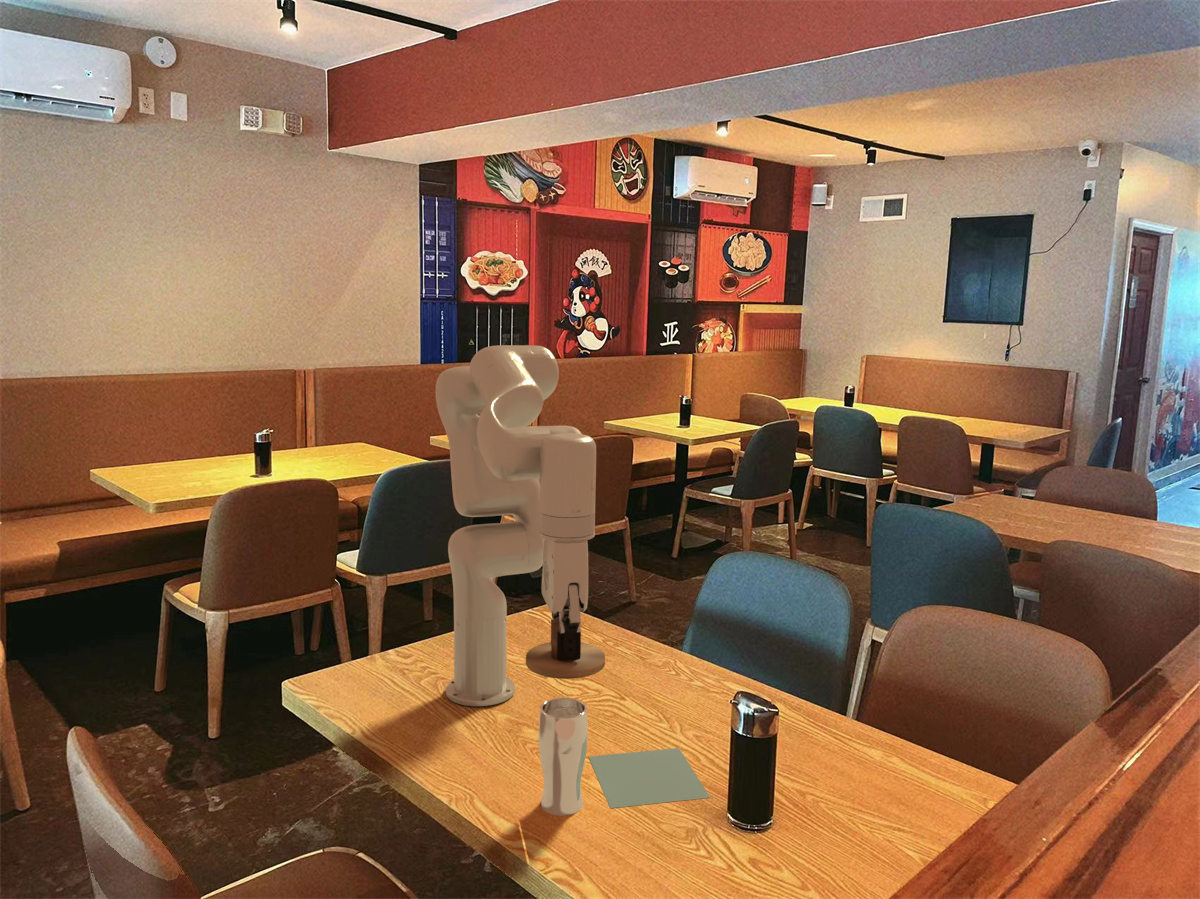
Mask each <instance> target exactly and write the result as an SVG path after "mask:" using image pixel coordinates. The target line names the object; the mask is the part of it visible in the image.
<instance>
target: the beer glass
mask: <svg viewBox="0 0 1200 899" xmlns="http://www.w3.org/2000/svg"><path fill="white" fill-rule="evenodd" d="M539 709H540V711H539V721H538V749H539V750H538V751H539V756H540V757H539V758H540V764H541V769H542V774H543V775H542V776H543V791H542V795H541V801H540V807H541V809H542V810H543V812H544V811H545V812H546V813H547V814H549V815H550V814H551V815H552V816H553V815H554V816H560V817H564V816H572V815H574V814H577V813H578V812H580V811H581V810H582V809H583V807H584V799H583V793H582V776H583V770H584V765H585V761H586V756H587V749H588V739H589V730H588V729H589V724H588V711H587V710H588V707H587V705H586V704H585V702H583V701H581V700H579V699H576V698H573V697H572V698H571V697H556V698H551V699H548V700H546V701H544V702H543V703H541V705H540V708H539Z"/></svg>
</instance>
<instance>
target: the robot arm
mask: <svg viewBox="0 0 1200 899" xmlns="http://www.w3.org/2000/svg"><path fill="white" fill-rule="evenodd" d="M559 369H560V368H559V364H558V362H557V359H556V357H555V355H554V354H553V353H552V351H550V350H549V349H548V348H546V347H545V346H542V345H529V344H525V345H523V344H522V345H521V344H520V345H516V344H515V345H514V344H513V345H512V344H511V345H507V344H505V345H504V344H502V345H501V344H500V345H491V346H490V345H489V346H487V347H483V348H481V349H480V350H478V351H477V352H476V353H475V354H474V355H473V357H472V358H471V360H470V365H462V366H456V367H451V368H447V369H445V370H443V371H442V372H440V374H439V375H438V377H437V379H436V383H435V402H436V408H437V412H438V414H439V417H440V421H441V422H442V425H443V428H444V430H445V433H446V437H447V439H448V445H449V459H450V462H449V463H450V472H451V473H450V474H451V486H452V488H451V489H452V498H453V499H452V500H453V504H454V507H455V510H456V511H457V513H458V514H460V515H461V516H463V517H469V518H481V517H484V518H485V517H496V516H507V515H511V516H513V518H514V521H511V522H510V521H508V522H500V523H499V522H495V523H482V524H481V523H480V524H472V525H467V526H464V527H461V528H459V529H456V530H455V531H454V532H453V533H452V534H451V535H450V537H449V540H448V544H447V553H448V559H449V564H450V565H449V566H450V570H451V579H452V586H453V587H452V590H453V640H454V641H453V655H454V656H453V659H454V660H453V666H454V667H453V668H454V670H453V671H454V673H453V675H454V676H453V677H454V678H453V679H451V680H450V681H449V682H448V683H447V684H446V686H445V696H446V697H447V698H448V699H449V700H450V701H451V702H453V703H455V704H458V705H461V706H467V707H489V706H493V705H498V704H501V703H503V702H506V701H508V700H509V699H510V698H512V697H513V695H514V694H515V691H516V690H515V688H516V685H515V682H513V680H512V679H510V677H507V618H508V617H507V615H508V614H507V612H508V610H507V607H508V606H507V599H506V596H505V594H504V592H503V591H502V590H501V589H500V587H499V586H498V585H497V584H496V583H494V579H495V578H498V577H504V576H513V575H520V574H528V573H533V572H536V571H538V570H540V569H541V567H542V573H541V595H542V597H543V599H544V601H545V604H546V605H547V607H548V609H549V611H550V612H551V618H552V619H551V620H550V635H551V634H552V620H553V619H554V618H557V617H559V631H560V632H557V659H558V660H559V661H566V660H578V659H580V656H581V643H582V642H581V641H582V631H581V630H582V627H581V626H582V625H581V624H582V623H581V613H584V612H585V611H586V610H587V609H588V601H589V599H588V598H589V547H588V546H589V544H588V540H591V539H593V538H595V535H596V534H595V533H596V531H595V528H596V489H597V487H596V486H597V485H596V484H597V483H596V481H597V444H596V442H595V440H594V438H593V437H591V436H589V435H586V434H582V432H581V431H580V430H579V429H578V428H576V427H575V426H571V425H546V426H545V425H534V426H532V425H531V424H532V423H534V421H535V420H537V418H538V417H539V415H540V414H541V412H542V409H543V406H544V402H545V400H547V399H548V398H549V397H550V396H551V395H553V393H554V392H555V390H556V389H557V386H558V382H559V378H560V371H559ZM564 616H568V617H569V618H566V620H565V622H564Z"/></svg>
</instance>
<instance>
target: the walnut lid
mask: <svg viewBox="0 0 1200 899" xmlns="http://www.w3.org/2000/svg"><path fill="white" fill-rule="evenodd" d="M566 618H569V617H568V616H564V622H565V620H566ZM551 620H552V634H551V633H550V641H549V642H544V643H541V644H538V645H535V646H533V647H532V648H530V649H529V650H528V651H526V655H525V665H526V667H527V669H528V670H529V671H531V672H532V673H534V674H537V675H539V676H542V677H545V678H551V679H559V680H570V679H573V680H574V679H581V678H582V679H583V678H585V677H590V676H593V675H595V674H597V673H599V672H601V671H602V670H603V669H604V668H605V665H606V655H605V653H604V651H603V650H602V649H601V648H599V647H598V646H595V645H592V644H589V643H585V642H581V656H580V659H578V660H566V661H559V660H558V659H557V632H560V631H559V617H557V618H554V619H551Z"/></svg>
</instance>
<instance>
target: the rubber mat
mask: <svg viewBox="0 0 1200 899" xmlns="http://www.w3.org/2000/svg"><path fill="white" fill-rule="evenodd" d="M587 757H588V759H589V762H590V764H591V766H592V769H593V771H594V773H595V776H596V778H597V780H598V783H599V785H600V787H601V790H602V792H603V794H604V797H605V799H606V801H607V805H608V806H609V808H610V810H611V809H620V808H627V807H629V808H630V807H639V806H647V805H657V804H665V803H666V804H667V803H674V802H675V803H677V802H685V801H692V800H703V799H711V796H710V794H709V793H708V792H707V790H706V788H705V787H704V785H703V783H702V782H701V780H700V778H698V775H697V774H696V773H695V771H694V769H693V768H692V766H691V765H690V763H689V761H688V760H687V759H686V757H685V755H684V753H683V752H682V750H681V749H680V747H676V748H675V747H674V748H664V749H663V748H662V749H654V750H643V751H634V752H633V751H632V752H623V753H621V752H620V753H611V754H610V753H609V754H602V755H601V754H600V755H589V756H587Z"/></svg>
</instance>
